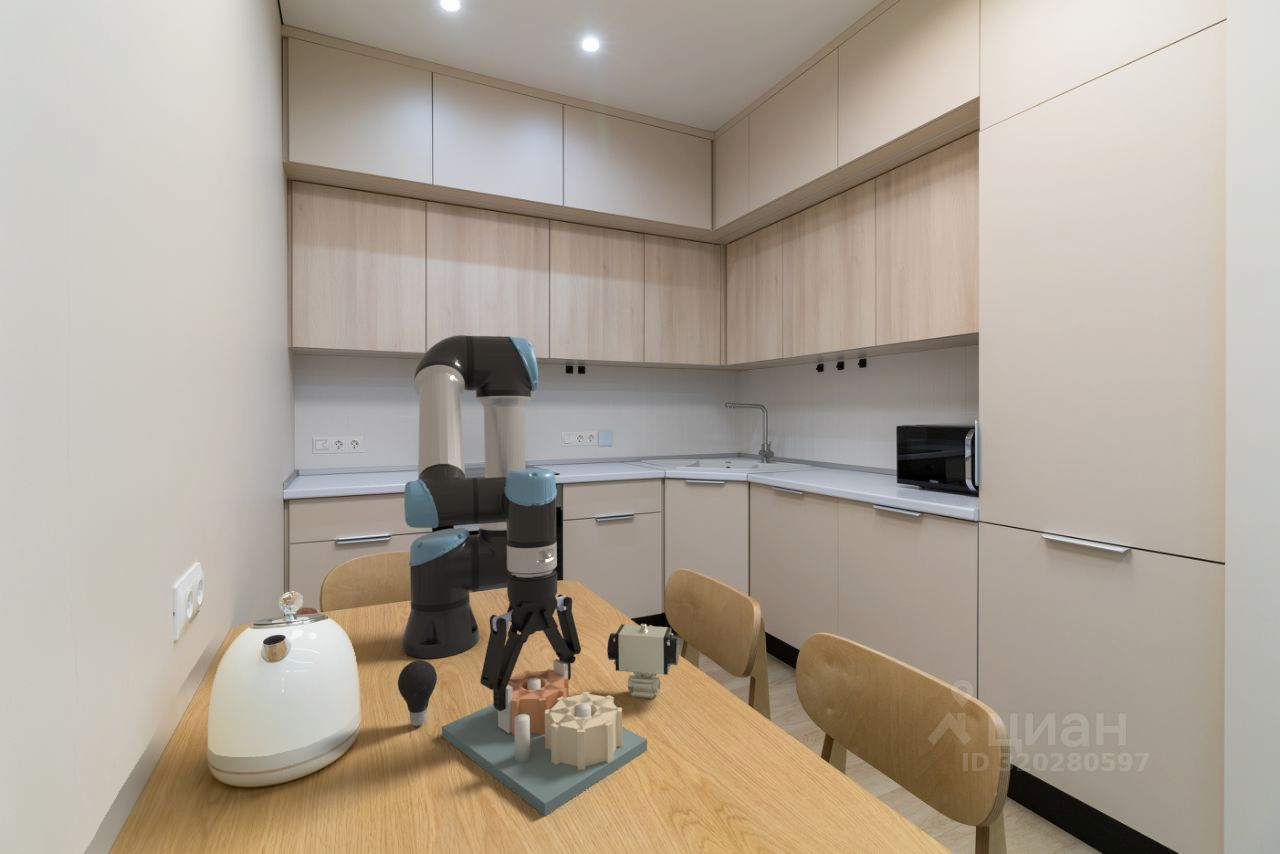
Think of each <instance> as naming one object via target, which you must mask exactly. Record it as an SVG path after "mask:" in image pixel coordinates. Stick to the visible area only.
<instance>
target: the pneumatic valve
mask: <svg viewBox="0 0 1280 854" xmlns="http://www.w3.org/2000/svg"><path fill="white" fill-rule="evenodd" d="M680 646H681V645H680V638H679V637H674V633H673V632H672V627H667V626H653V625H651V624H649V625H647V624H646V623H641V624H640V625H639V624H638V625H637V624H635V625H634V624H624V623H623V624H620V626H619V628H618V629H617V630H616V632H612V633H609V636H608V640H607V649H606V652H607V654H606V655H607V659H608V660H609V661H613V666H614V665H615V666H614V667H615V672H617V671H618V672H629V673H633V674H631V675H629V676H628V678H627V689H628V691H630V695H631V696H632V697H633V698H639V699H654V698H655V694H658V693H660V691H661V678H660V677H659V676H658V677H657V675H663V676H664V675H666V676H667V675H669V672H670V669H671V666H678V665H679V662H680V661H679V660H680Z"/></svg>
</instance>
